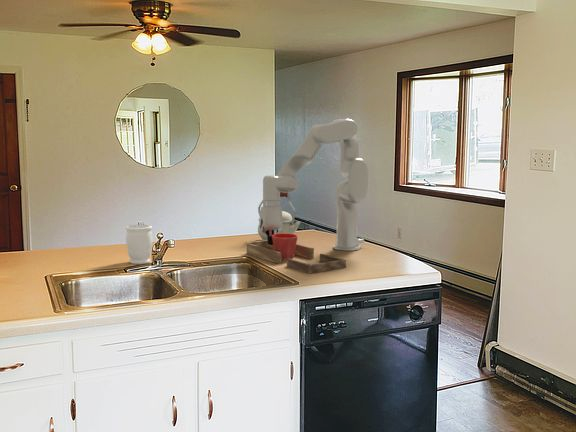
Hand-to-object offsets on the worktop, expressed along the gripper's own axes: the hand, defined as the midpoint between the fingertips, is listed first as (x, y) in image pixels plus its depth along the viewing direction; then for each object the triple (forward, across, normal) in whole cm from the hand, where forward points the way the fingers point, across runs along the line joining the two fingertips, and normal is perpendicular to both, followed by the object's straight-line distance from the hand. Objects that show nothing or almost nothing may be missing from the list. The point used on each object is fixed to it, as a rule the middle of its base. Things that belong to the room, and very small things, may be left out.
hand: (271, 244), depth 263 cm
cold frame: (+4, 0, +6) cm, 7 cm away
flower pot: (+4, 0, +10) cm, 11 cm away
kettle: (+4, -20, -22) cm, 30 cm away
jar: (+4, +55, -16) cm, 57 cm away
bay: (+4, 0, +31) cm, 31 cm away
